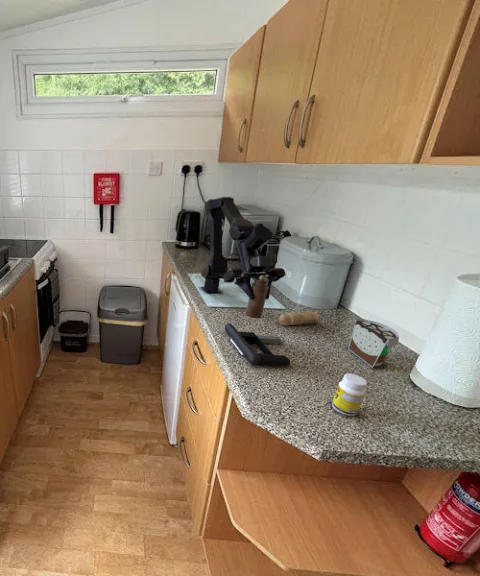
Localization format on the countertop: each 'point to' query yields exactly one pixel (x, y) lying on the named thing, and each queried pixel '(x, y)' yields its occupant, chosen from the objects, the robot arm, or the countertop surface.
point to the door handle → (246, 338)
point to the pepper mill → (257, 297)
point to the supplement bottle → (349, 394)
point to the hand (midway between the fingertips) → (260, 299)
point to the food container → (372, 341)
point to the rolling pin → (299, 318)
